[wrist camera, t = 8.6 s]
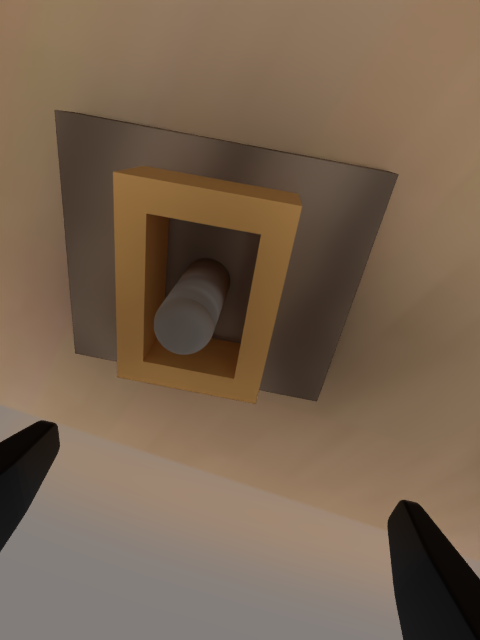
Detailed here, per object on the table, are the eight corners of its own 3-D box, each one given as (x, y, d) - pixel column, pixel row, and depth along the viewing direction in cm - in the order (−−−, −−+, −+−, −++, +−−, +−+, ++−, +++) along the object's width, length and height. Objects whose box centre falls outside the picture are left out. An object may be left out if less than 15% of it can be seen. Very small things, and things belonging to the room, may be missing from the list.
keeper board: (388, 171, 15) (465, 194, 9) (314, 384, 21) (329, 491, 14) (74, 112, 15) (-73, 93, 9) (88, 339, 21) (5, 425, 15)
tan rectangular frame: (298, 193, 14) (302, 206, 12) (259, 366, 19) (255, 403, 16) (143, 165, 14) (112, 171, 12) (140, 343, 19) (117, 377, 16)
